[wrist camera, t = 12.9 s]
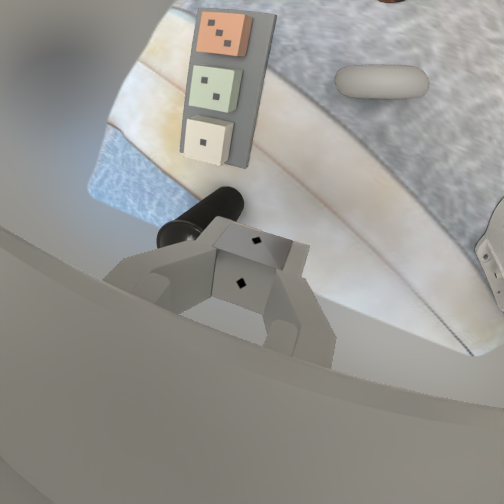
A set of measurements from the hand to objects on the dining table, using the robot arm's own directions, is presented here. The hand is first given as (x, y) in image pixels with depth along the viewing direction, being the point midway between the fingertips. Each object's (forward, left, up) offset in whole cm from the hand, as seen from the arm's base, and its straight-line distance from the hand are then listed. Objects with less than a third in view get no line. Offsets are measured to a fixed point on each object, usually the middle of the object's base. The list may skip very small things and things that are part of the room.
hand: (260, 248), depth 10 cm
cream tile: (+5, +15, -30) cm, 34 cm away
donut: (+1, -7, -31) cm, 32 cm away
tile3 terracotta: (+15, +5, -30) cm, 34 cm away
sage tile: (+10, +10, -30) cm, 33 cm away
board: (+10, +10, -31) cm, 34 cm away
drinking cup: (-4, +20, -31) cm, 37 cm away
